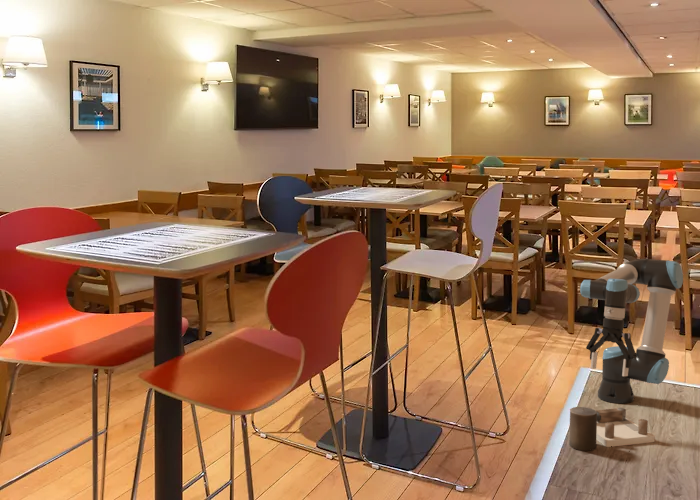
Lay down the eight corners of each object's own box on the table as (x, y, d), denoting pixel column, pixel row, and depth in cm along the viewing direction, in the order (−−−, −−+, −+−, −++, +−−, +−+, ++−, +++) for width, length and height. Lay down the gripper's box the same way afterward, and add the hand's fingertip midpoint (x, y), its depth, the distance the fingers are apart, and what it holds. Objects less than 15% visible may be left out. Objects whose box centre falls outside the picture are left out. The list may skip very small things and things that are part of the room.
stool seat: (623, 422, 269) (623, 404, 268) (654, 441, 249) (655, 423, 248) (578, 426, 265) (578, 408, 264) (606, 447, 246) (607, 427, 245)
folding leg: (622, 417, 267) (622, 407, 267) (627, 420, 264) (627, 410, 263) (593, 419, 265) (594, 409, 264) (598, 423, 261) (599, 413, 261)
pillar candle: (596, 452, 241) (597, 413, 239) (568, 449, 245) (569, 410, 243) (596, 442, 250) (597, 404, 248) (569, 439, 254) (570, 401, 252)
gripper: (580, 313, 264) (575, 365, 264) (638, 323, 244) (633, 379, 244) (591, 313, 268) (586, 365, 269) (649, 323, 248) (644, 378, 249)
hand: (608, 372), depth 256 cm, fingers open, 13 cm apart
